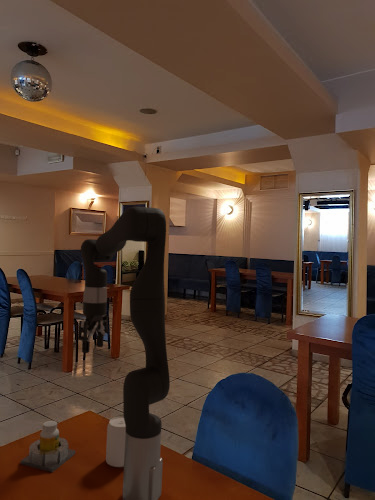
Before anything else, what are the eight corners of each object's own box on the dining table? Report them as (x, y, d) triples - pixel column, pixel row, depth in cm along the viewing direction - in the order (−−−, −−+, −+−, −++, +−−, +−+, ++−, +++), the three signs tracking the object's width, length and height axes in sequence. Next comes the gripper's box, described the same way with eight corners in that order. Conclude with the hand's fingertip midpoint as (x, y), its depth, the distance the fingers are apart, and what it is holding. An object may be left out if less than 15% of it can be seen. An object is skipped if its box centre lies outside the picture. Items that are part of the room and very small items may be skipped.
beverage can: (100, 463, 117) (101, 423, 117) (117, 451, 124) (118, 413, 124) (122, 472, 114) (124, 430, 113) (138, 459, 121) (140, 419, 121)
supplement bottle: (40, 451, 121) (41, 420, 121) (58, 450, 122) (60, 419, 122) (38, 461, 115) (39, 428, 115) (57, 459, 117) (58, 426, 117)
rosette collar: (75, 453, 122) (75, 440, 122) (52, 472, 112) (52, 458, 112) (45, 446, 126) (45, 434, 126) (20, 464, 115) (21, 450, 115)
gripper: (93, 304, 122) (91, 356, 122) (115, 299, 136) (113, 346, 136) (72, 301, 125) (70, 353, 125) (96, 297, 138) (94, 343, 138)
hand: (92, 349), depth 130 cm, fingers open, 8 cm apart
